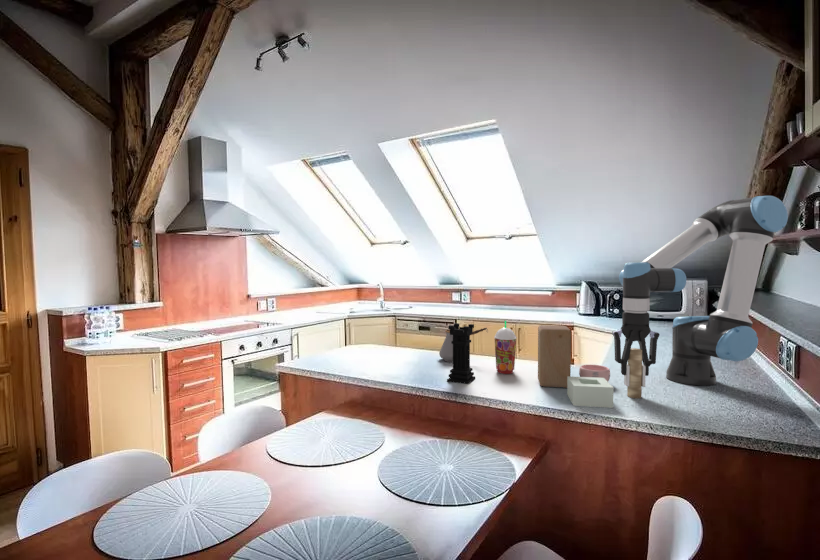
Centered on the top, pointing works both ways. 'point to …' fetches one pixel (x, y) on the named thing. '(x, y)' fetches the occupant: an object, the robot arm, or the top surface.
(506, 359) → the smoothie
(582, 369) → the mug
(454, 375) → the chess piece
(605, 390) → the socket block
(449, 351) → the coffee pot
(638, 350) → the birch peg
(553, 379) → the wooden block
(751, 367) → the top surface
